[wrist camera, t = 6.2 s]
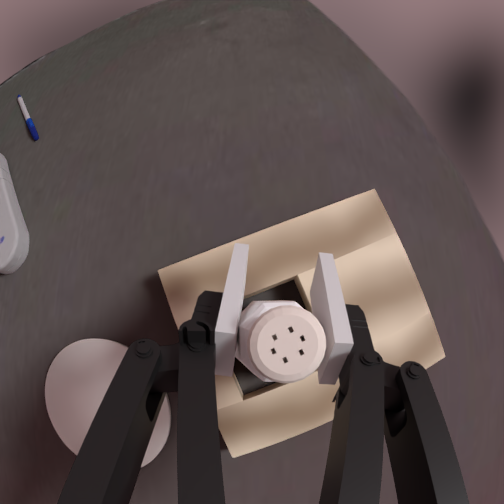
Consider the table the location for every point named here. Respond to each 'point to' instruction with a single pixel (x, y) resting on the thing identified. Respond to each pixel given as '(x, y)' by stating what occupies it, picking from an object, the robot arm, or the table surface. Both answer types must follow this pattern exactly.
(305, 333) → the pepper shaker
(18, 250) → the electronic device
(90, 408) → the saucer
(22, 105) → the ballpoint pen
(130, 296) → the table surface
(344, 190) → the table surface
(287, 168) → the table surface
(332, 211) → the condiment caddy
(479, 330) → the table surface
